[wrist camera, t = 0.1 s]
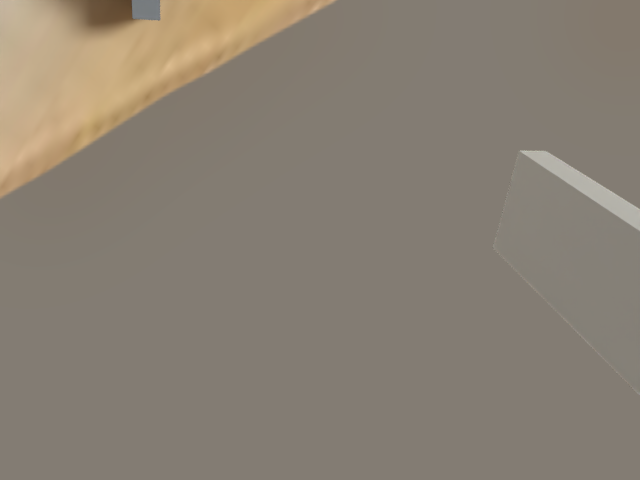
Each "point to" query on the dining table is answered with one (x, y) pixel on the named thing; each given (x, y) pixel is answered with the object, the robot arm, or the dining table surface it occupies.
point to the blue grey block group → (146, 9)
